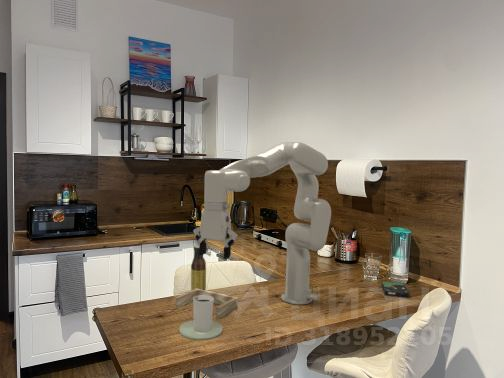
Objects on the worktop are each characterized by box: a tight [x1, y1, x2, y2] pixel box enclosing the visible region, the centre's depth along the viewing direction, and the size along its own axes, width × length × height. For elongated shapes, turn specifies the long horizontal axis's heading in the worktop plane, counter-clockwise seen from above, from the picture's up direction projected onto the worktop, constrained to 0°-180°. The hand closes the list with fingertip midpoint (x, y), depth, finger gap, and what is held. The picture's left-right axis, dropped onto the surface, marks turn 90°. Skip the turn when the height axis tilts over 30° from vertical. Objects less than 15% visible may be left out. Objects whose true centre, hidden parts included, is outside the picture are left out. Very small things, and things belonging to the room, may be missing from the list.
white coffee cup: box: [192, 295, 214, 332], centre depth 131 cm, size 7×7×10 cm
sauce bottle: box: [190, 244, 207, 291], centre depth 168 cm, size 6×6×20 cm
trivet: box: [179, 319, 224, 341], centre depth 132 cm, size 14×14×1 cm
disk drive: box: [381, 281, 411, 299], centre depth 181 cm, size 10×3×15 cm
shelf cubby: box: [174, 288, 239, 320], centre depth 152 cm, size 19×13×4 cm
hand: (214, 256), depth 138 cm, fingers open, 9 cm apart
